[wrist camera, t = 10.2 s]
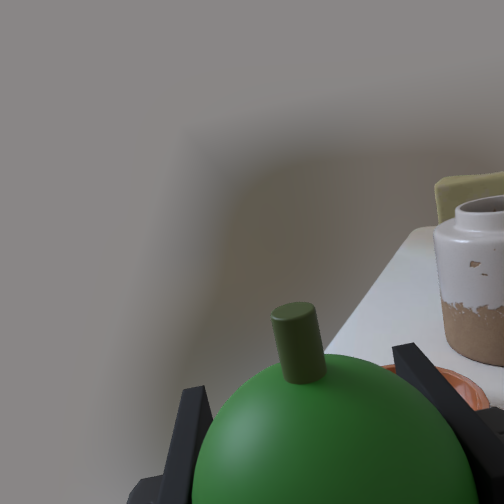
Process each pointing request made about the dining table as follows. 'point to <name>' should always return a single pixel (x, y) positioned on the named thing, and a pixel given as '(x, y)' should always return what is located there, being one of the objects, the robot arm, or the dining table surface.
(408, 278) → the dining table surface
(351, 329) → the dining table surface
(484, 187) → the cheese
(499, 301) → the vase
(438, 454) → the green pepper
